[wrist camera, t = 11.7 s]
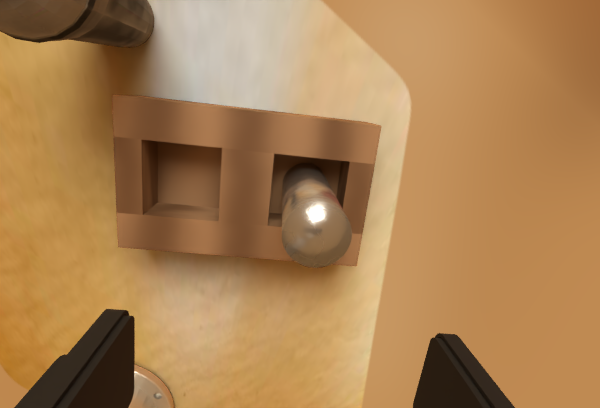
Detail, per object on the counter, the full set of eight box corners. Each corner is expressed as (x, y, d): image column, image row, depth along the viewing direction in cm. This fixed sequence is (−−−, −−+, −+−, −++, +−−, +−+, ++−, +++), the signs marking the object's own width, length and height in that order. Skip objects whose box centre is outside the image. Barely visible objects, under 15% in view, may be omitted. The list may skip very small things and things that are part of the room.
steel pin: (323, 207, 31) (346, 270, 20) (280, 203, 31) (278, 264, 20) (329, 165, 30) (357, 205, 19) (284, 160, 30) (285, 199, 19)
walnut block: (365, 122, 31) (381, 125, 26) (346, 243, 34) (356, 266, 29) (139, 95, 29) (111, 94, 24) (142, 225, 33) (118, 247, 28)
